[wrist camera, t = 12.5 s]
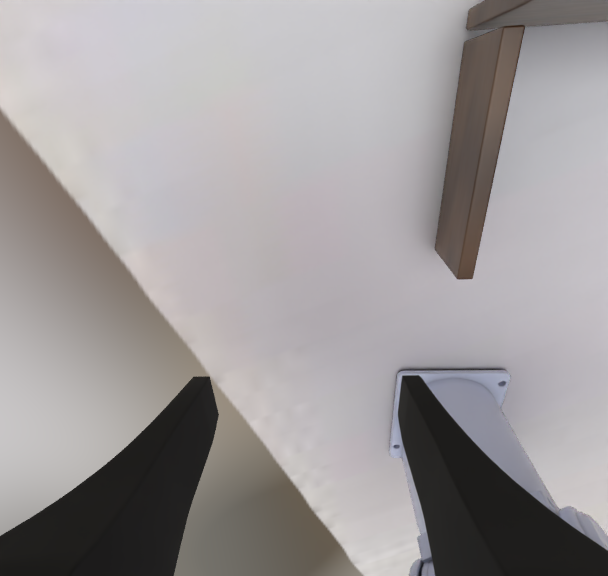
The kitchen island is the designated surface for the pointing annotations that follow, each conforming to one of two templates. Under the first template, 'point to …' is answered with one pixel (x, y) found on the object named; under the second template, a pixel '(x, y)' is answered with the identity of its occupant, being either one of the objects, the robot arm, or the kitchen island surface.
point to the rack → (489, 114)
